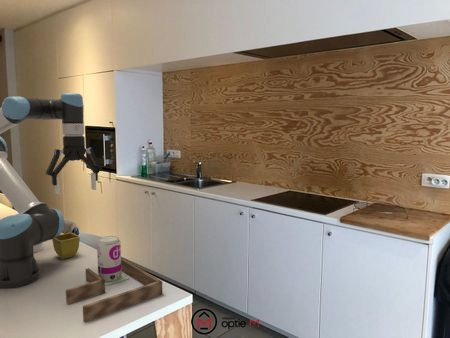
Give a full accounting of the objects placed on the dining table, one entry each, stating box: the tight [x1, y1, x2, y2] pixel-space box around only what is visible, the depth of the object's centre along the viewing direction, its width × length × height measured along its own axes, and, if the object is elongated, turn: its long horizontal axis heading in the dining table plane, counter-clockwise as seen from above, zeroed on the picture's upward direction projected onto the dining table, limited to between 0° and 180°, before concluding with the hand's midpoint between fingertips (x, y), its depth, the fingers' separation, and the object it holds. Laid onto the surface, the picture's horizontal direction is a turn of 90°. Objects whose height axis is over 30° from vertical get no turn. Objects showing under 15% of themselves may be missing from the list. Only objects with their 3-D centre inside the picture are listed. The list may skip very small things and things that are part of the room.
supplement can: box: [96, 235, 123, 282], centre depth 136 cm, size 8×8×15 cm
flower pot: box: [51, 232, 81, 260], centre depth 159 cm, size 9×9×9 cm
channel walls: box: [65, 258, 163, 323], centre depth 126 cm, size 27×28×4 cm
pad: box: [105, 272, 130, 287], centre depth 137 cm, size 10×9×1 cm
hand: (76, 191), depth 139 cm, fingers open, 13 cm apart
